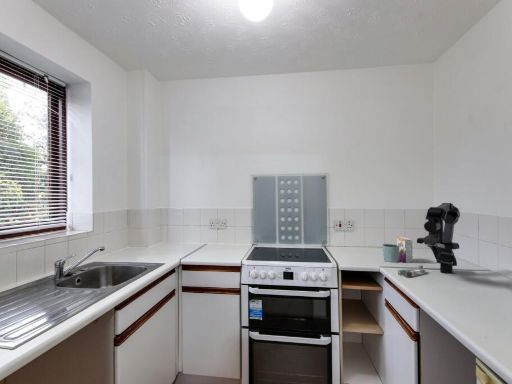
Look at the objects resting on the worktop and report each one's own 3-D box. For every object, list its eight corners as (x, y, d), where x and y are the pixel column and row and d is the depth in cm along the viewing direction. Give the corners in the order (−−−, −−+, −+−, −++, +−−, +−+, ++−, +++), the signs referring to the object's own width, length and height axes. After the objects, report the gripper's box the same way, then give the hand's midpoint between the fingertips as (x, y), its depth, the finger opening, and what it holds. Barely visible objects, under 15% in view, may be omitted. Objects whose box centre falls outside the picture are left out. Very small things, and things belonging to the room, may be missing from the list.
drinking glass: (402, 264, 167) (402, 246, 167) (391, 265, 164) (391, 247, 164) (389, 260, 177) (389, 243, 177) (379, 261, 173) (378, 244, 173)
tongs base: (405, 269, 157) (405, 260, 157) (435, 278, 140) (435, 268, 140) (385, 273, 149) (384, 264, 149) (414, 283, 133) (414, 273, 133)
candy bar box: (396, 259, 178) (396, 236, 178) (403, 259, 178) (403, 236, 178) (405, 264, 167) (405, 239, 167) (412, 264, 167) (412, 239, 167)
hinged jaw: (417, 272, 146) (417, 267, 146) (419, 273, 145) (419, 268, 145) (397, 274, 142) (397, 270, 142) (400, 275, 141) (400, 270, 141)
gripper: (410, 228, 141) (410, 256, 141) (446, 234, 124) (447, 265, 124) (422, 227, 146) (423, 254, 146) (459, 232, 129) (460, 262, 129)
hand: (436, 258), depth 136 cm, fingers closed
